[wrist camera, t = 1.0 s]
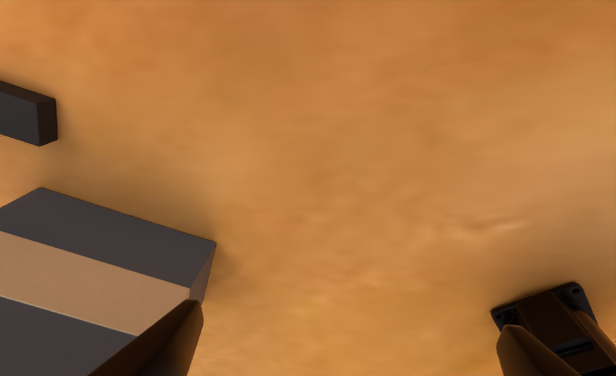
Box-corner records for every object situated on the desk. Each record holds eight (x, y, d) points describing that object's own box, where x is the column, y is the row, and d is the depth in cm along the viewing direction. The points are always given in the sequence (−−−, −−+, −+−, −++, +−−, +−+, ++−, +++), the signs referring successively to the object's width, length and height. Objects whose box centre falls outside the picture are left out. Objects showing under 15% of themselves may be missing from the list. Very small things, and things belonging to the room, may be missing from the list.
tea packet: (217, 242, 25) (94, 453, 12) (203, 303, 28) (93, 520, 16) (38, 186, 24) (-285, 352, 12) (44, 255, 27) (-205, 444, 15)
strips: (55, 98, 21) (36, 103, 20) (66, 317, 31) (54, 330, 29) (-68, 57, 20) (-97, 59, 19) (-17, 293, 30) (-34, 305, 29)
